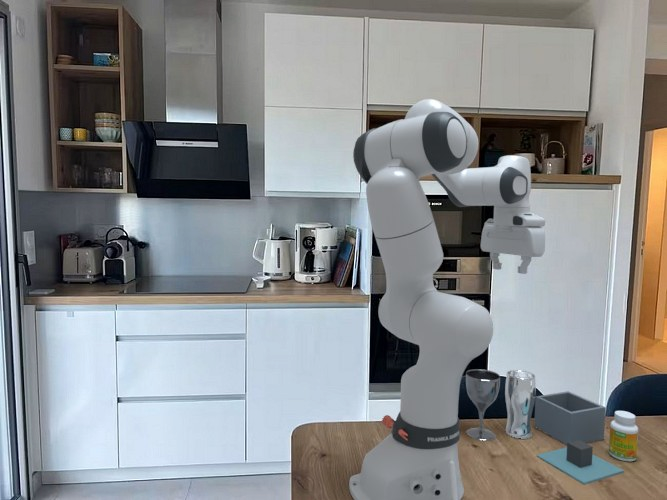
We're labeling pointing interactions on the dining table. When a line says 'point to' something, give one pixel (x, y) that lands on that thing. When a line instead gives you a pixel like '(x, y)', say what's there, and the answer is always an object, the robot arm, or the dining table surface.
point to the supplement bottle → (623, 436)
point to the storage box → (569, 417)
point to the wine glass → (482, 398)
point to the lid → (580, 462)
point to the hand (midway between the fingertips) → (509, 271)
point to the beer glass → (519, 402)
